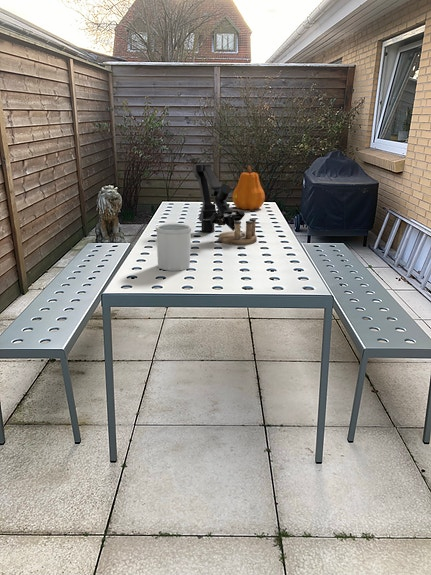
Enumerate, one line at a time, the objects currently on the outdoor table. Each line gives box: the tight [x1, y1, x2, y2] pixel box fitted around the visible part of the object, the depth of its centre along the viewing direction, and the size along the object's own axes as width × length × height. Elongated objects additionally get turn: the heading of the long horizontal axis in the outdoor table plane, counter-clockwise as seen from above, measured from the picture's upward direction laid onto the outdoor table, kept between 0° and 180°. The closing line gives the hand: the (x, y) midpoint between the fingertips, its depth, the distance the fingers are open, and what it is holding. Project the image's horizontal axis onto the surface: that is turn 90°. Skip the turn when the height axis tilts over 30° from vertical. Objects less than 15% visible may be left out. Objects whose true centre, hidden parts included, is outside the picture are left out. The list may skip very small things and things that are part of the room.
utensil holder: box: [155, 222, 192, 272], centre depth 198 cm, size 15×15×18 cm
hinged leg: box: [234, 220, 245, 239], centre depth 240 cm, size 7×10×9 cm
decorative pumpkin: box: [232, 164, 266, 211], centre depth 332 cm, size 24×24×30 cm
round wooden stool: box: [218, 218, 258, 246], centre depth 245 cm, size 20×20×11 cm
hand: (233, 230), depth 237 cm, fingers closed
